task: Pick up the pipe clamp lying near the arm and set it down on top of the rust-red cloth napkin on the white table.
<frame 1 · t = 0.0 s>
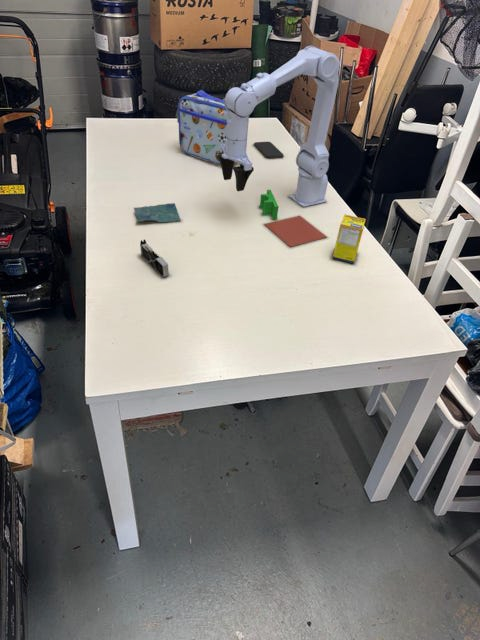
hand: (233, 184, 133), 10 cm above the table, tool pointing down, fingers open, 7 cm apart
phone: (268, 151, 181), on the table
terrain model: (156, 217, 136), on the table
napkin: (295, 231, 136), on the table
graphics card: (154, 266, 118), on the table
lunch box: (209, 158, 172), on the table
pipe clamp: (267, 211, 144), on the table
supplement box: (344, 256, 128), on the table
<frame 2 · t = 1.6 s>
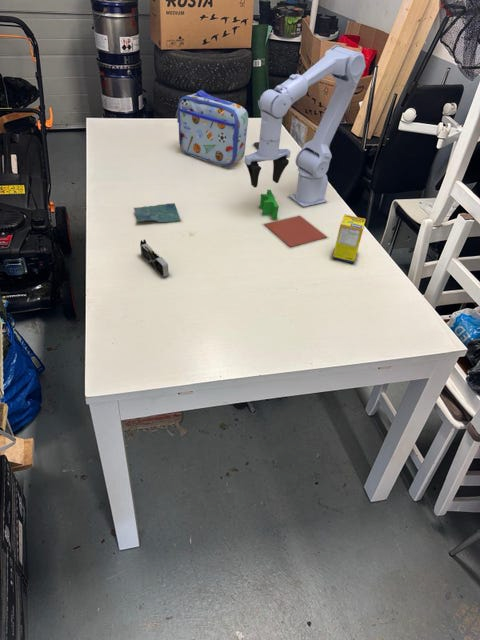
hand: (264, 183, 137), 9 cm above the table, tool pointing down, fingers open, 7 cm apart
nothing on the table moved.
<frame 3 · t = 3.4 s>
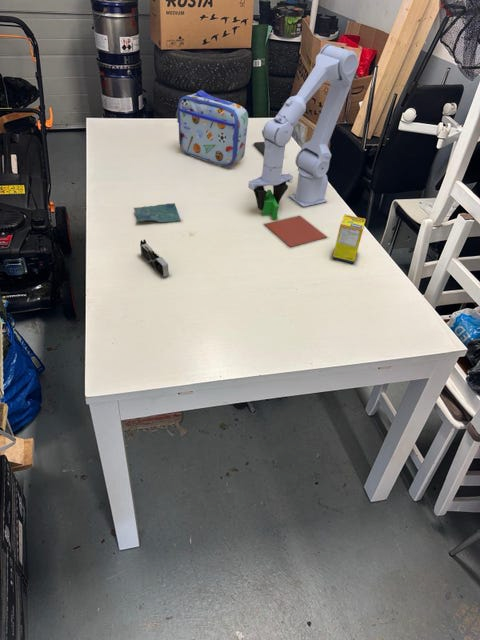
hand: (267, 206, 143), 1 cm above the table, tool pointing down, fingers closed on pipe clamp, 5 cm apart
pipe clamp: (267, 211, 144), on the table, touching gripper
everything else where it was.
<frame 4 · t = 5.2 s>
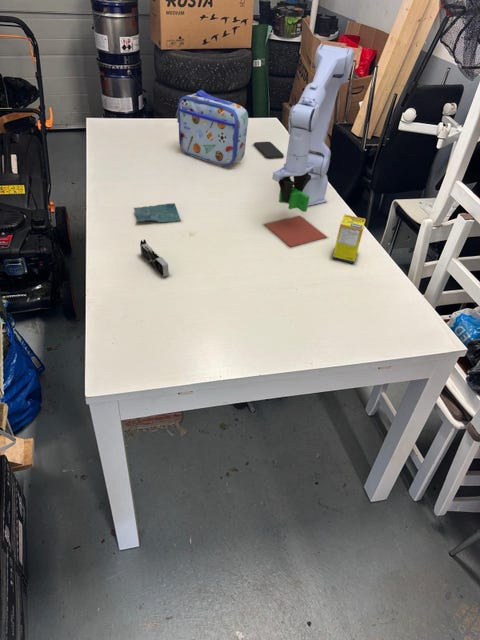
hand: (290, 199, 133), 8 cm above the table, tool pointing down, fingers closed on pipe clamp, 4 cm apart
pipe clamp: (289, 204, 134), point 7 cm above the table, touching gripper
everything else where it was.
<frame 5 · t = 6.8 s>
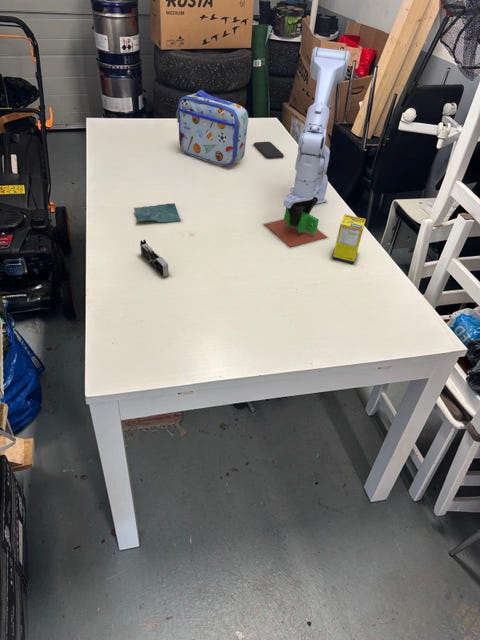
hand: (298, 222, 133), 3 cm above the table, tool pointing down, fingers closed on pipe clamp, 4 cm apart
pipe clamp: (296, 227, 134), point 1 cm above the table, touching gripper
everything else where it was.
when the fingers open (2 cm above the table, at t = 7.6 s): pipe clamp stays where it is, resting on napkin.
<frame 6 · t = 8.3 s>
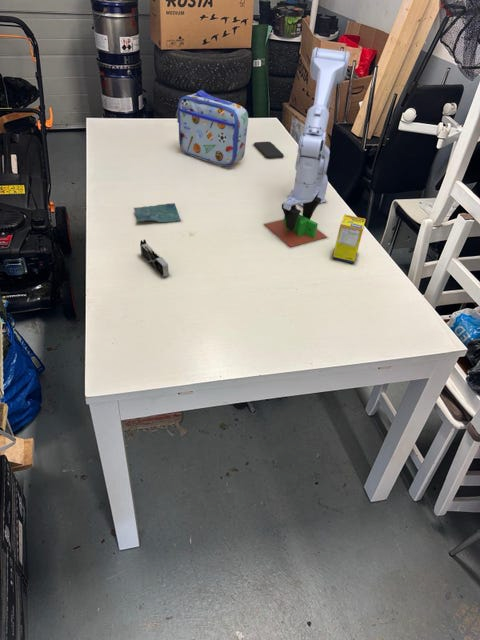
hand: (297, 224, 134), 3 cm above the table, tool pointing down, fingers open, 7 cm apart
pipe clamp: (296, 231, 135), resting on napkin
everything else where it was.
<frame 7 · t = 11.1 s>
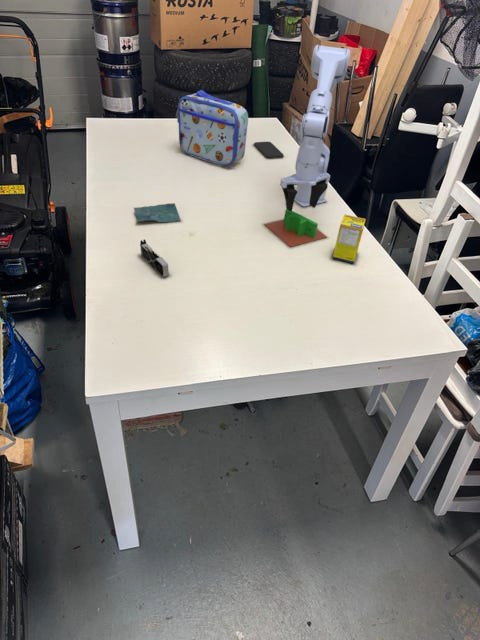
hand: (300, 207, 130), 8 cm above the table, tool pointing down, fingers open, 7 cm apart
nothing on the table moved.
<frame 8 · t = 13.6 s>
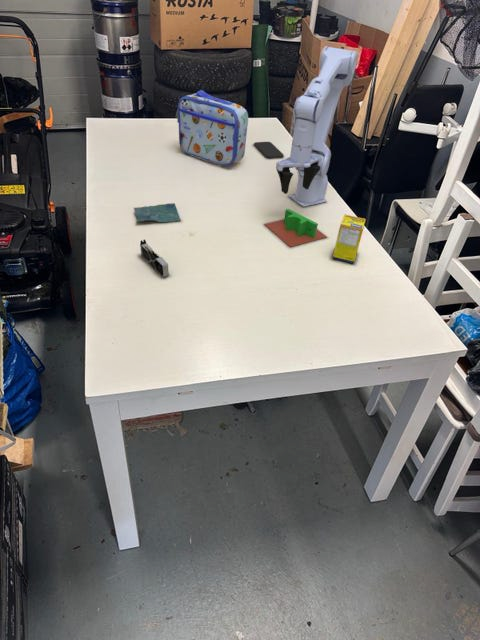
hand: (295, 190, 135), 9 cm above the table, tool pointing down, fingers open, 7 cm apart
nothing on the table moved.
at the end: pipe clamp inside the target area on the napkin (0.6 cm from its centre), point 0.1 cm above the napkin's base; pipe clamp touching napkin; the gripper is holding nothing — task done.
